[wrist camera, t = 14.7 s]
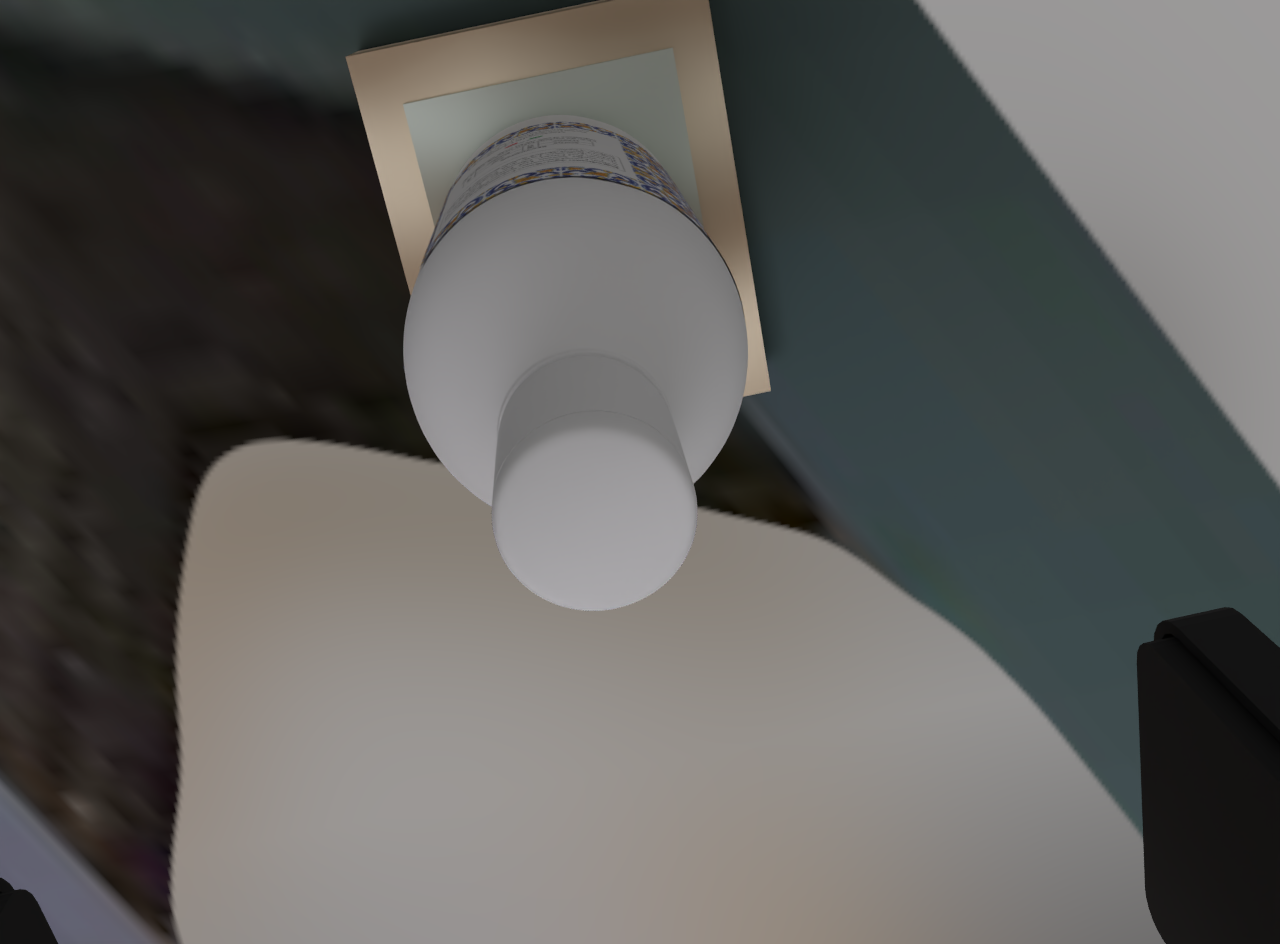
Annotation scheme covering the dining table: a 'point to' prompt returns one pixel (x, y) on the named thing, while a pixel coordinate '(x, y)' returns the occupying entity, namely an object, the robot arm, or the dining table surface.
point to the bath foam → (576, 356)
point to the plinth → (559, 113)
